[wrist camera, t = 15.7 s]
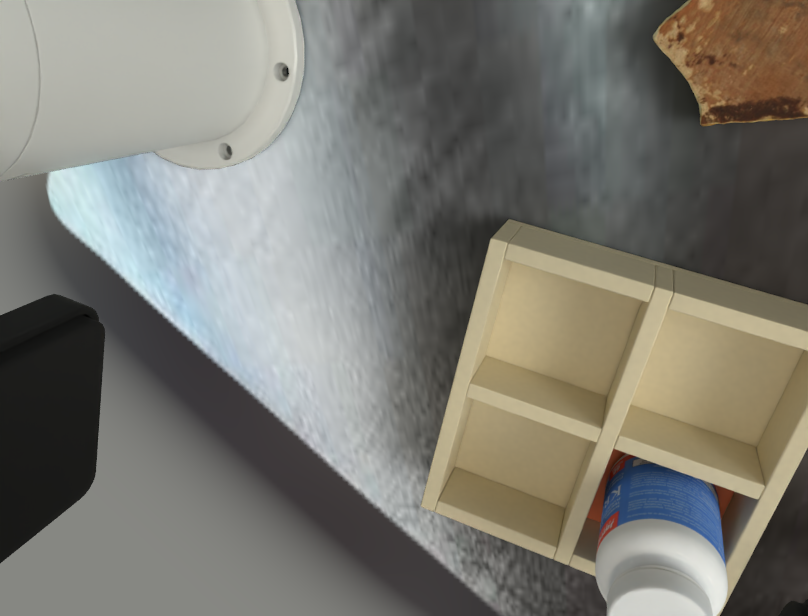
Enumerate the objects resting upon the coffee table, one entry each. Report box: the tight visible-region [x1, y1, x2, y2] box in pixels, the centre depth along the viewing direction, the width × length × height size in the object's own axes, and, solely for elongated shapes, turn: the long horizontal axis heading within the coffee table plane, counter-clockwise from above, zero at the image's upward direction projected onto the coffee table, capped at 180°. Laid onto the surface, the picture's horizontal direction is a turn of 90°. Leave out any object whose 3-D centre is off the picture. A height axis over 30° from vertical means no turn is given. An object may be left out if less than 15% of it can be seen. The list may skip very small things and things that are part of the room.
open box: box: [421, 219, 808, 616], centre depth 34 cm, size 15×15×4 cm
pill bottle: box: [595, 454, 728, 616], centre depth 32 cm, size 6×5×10 cm
